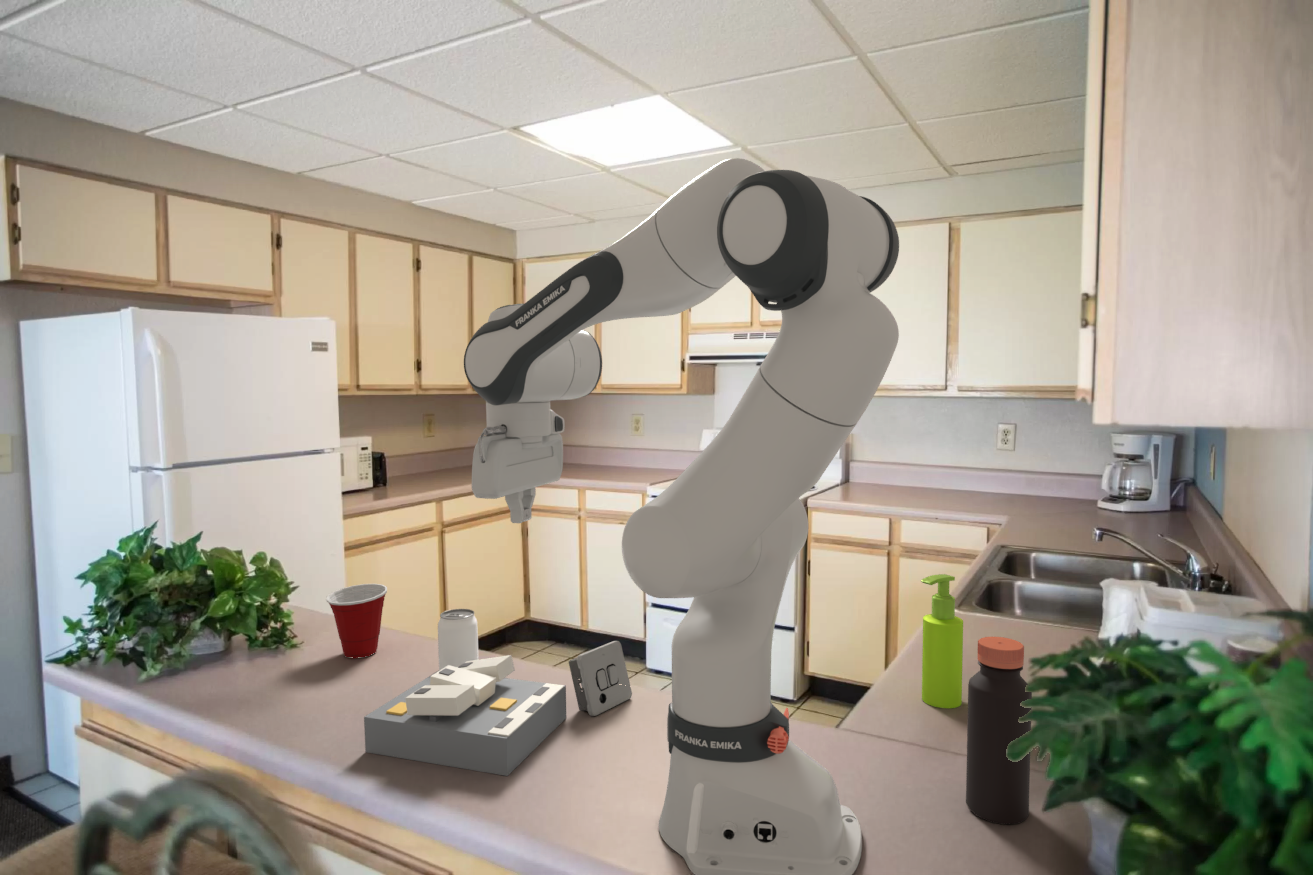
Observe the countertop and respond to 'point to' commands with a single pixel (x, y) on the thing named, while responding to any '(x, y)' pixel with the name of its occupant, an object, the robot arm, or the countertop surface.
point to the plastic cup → (358, 617)
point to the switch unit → (471, 728)
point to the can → (457, 637)
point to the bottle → (997, 733)
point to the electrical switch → (600, 678)
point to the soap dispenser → (942, 648)
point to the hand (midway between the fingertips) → (521, 521)
